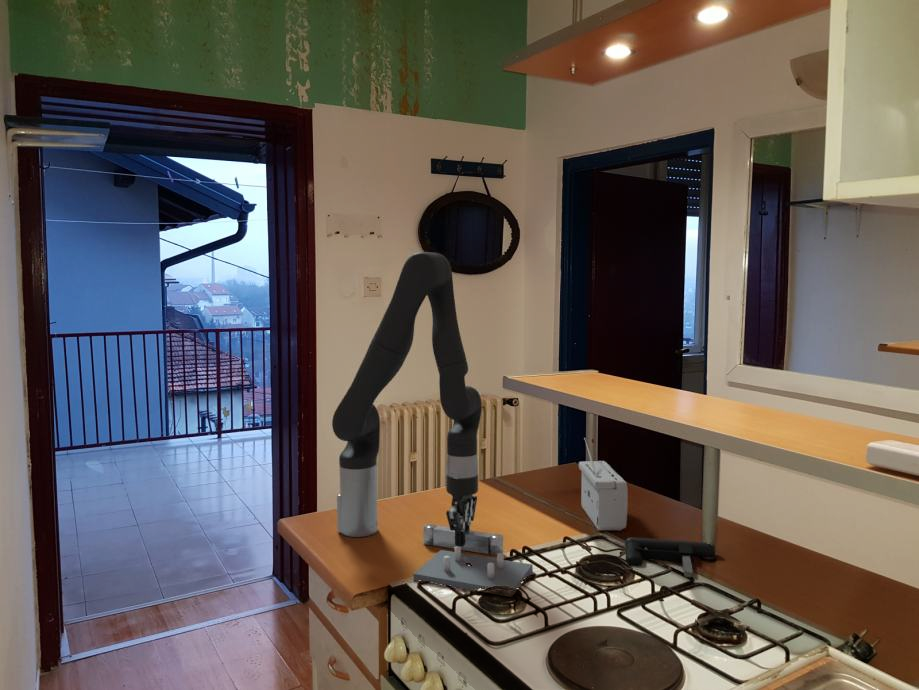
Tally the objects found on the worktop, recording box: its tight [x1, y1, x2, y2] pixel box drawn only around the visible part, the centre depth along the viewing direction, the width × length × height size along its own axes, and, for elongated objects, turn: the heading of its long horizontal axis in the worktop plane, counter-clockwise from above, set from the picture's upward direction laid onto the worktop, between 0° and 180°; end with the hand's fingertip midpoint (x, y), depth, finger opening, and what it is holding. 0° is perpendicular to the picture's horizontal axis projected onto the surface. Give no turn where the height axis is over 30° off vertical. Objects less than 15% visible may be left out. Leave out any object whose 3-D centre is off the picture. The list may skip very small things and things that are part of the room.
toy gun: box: [624, 536, 716, 578], centre depth 158 cm, size 3×20×16 cm
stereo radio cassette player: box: [578, 437, 629, 532], centre depth 185 cm, size 21×8×20 cm, turn 3°
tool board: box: [412, 546, 534, 592], centre depth 151 cm, size 22×14×4 cm, turn 67°
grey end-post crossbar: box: [422, 523, 504, 557], centre depth 166 cm, size 20×3×4 cm, turn 67°
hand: (462, 543), depth 166 cm, fingers closed on grey end-post crossbar, 2 cm apart
